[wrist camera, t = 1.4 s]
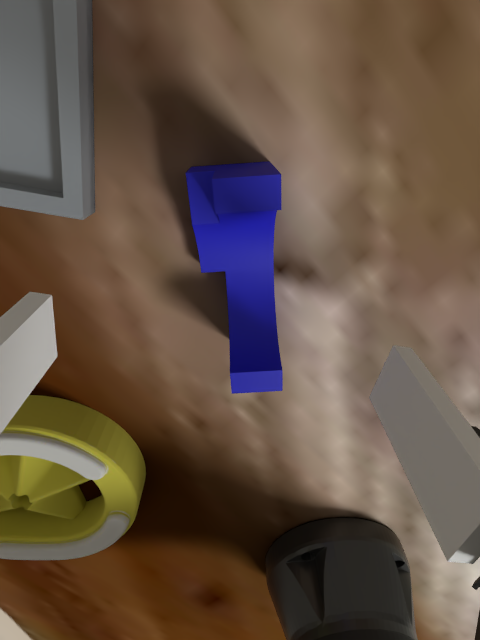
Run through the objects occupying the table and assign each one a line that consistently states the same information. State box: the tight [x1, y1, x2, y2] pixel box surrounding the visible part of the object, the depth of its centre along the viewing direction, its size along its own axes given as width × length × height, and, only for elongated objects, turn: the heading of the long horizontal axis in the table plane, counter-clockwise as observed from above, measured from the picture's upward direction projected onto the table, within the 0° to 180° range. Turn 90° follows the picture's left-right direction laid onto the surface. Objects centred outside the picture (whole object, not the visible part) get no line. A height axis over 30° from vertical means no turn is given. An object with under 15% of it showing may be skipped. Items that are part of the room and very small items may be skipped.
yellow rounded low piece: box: [0, 395, 146, 560], centre depth 31 cm, size 16×21×5 cm
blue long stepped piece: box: [186, 161, 282, 393], centre depth 21 cm, size 12×4×6 cm, turn 4°
